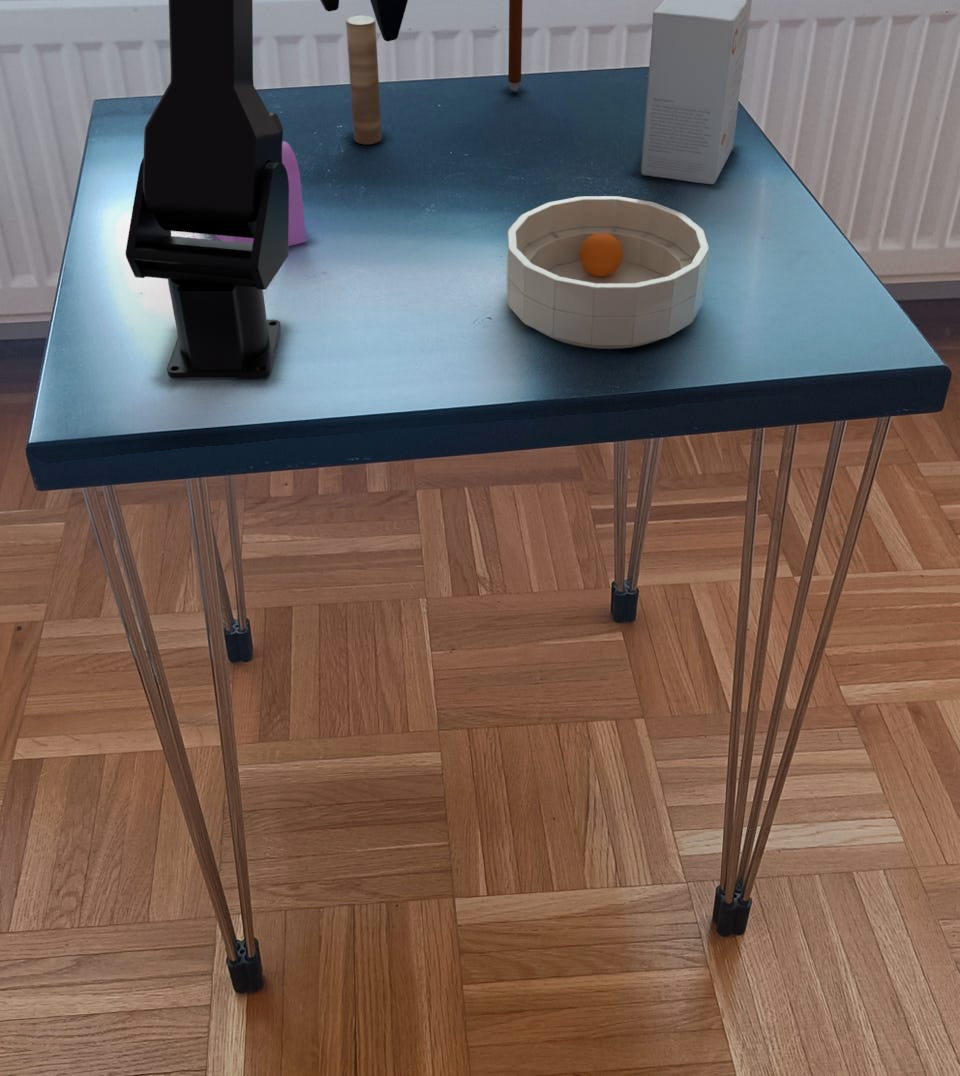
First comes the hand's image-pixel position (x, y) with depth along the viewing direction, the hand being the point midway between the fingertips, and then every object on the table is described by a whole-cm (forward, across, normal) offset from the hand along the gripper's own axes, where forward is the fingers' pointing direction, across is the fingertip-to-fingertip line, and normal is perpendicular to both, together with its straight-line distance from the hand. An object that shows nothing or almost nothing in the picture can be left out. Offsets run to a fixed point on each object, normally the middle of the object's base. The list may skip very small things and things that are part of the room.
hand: (360, 24), depth 102 cm
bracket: (+10, -7, +16) cm, 20 cm away
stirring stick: (+10, 0, 0) cm, 10 cm away
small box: (+10, -20, -19) cm, 29 cm away
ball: (+7, -32, 0) cm, 32 cm away
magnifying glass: (+10, +2, -17) cm, 20 cm away
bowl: (+10, -34, +2) cm, 35 cm away
